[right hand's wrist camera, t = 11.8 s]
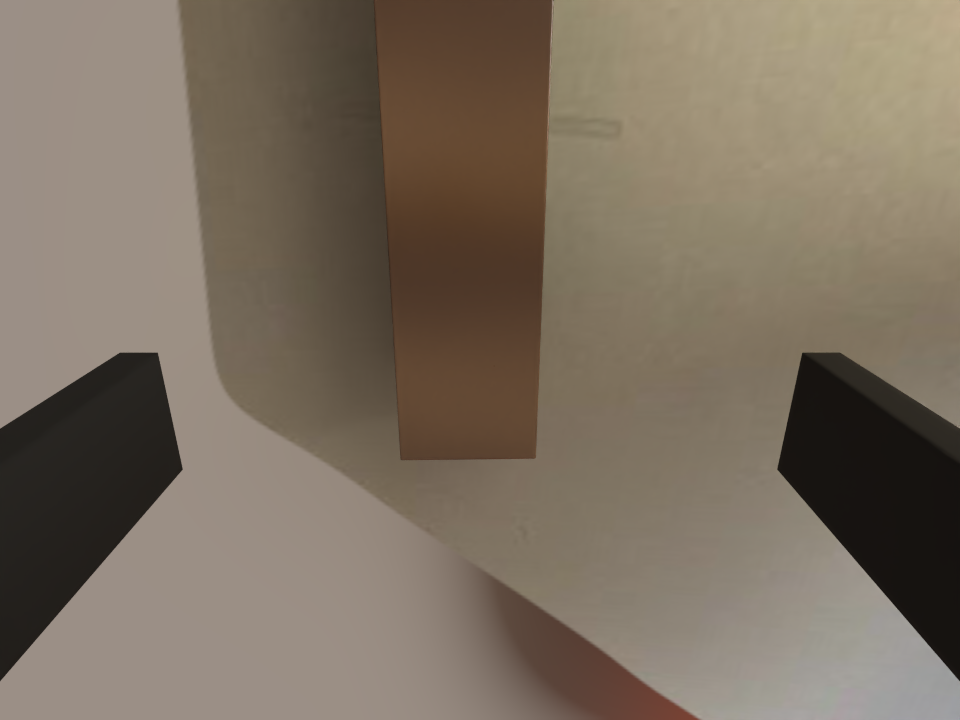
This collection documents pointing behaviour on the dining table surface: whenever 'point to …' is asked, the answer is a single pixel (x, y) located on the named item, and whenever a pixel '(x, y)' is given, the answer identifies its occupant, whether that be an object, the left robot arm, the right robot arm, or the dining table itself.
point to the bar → (465, 218)
